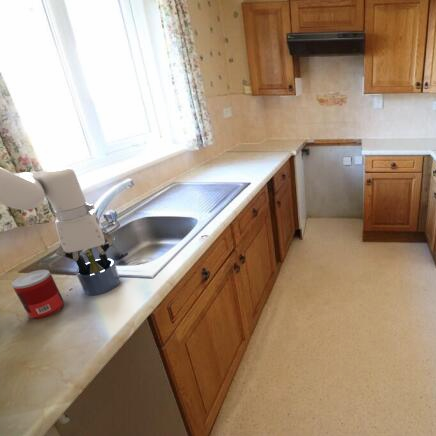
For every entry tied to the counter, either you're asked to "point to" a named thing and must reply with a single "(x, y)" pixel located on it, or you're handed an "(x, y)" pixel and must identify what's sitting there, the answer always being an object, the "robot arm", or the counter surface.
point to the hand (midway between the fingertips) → (94, 266)
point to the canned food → (38, 293)
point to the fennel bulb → (93, 262)
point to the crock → (99, 278)
